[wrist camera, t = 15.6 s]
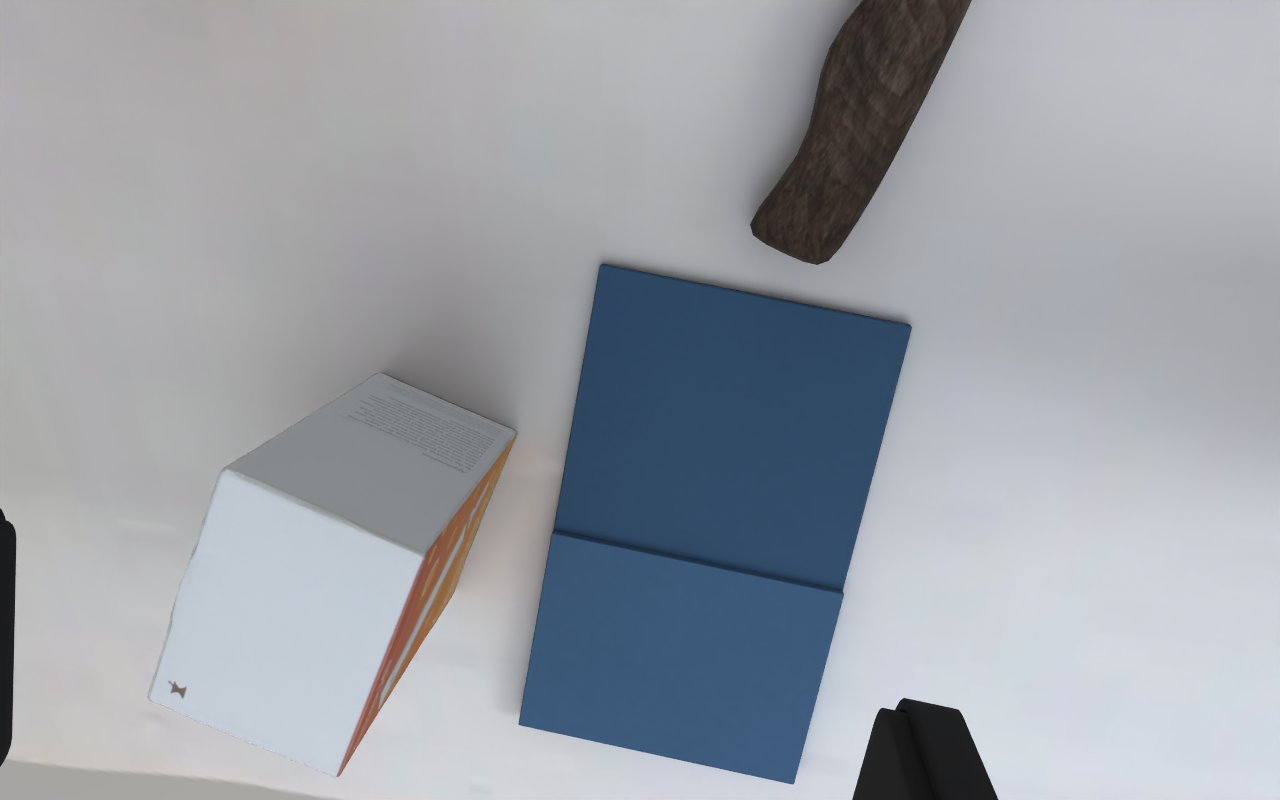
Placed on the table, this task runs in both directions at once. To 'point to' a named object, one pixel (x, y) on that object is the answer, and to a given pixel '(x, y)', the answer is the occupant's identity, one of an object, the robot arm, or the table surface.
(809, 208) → the cleaver
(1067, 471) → the table surface
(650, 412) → the cloth
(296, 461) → the small box
